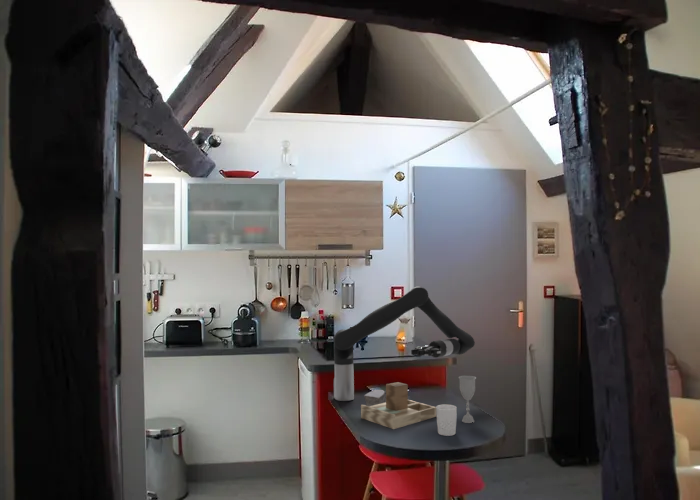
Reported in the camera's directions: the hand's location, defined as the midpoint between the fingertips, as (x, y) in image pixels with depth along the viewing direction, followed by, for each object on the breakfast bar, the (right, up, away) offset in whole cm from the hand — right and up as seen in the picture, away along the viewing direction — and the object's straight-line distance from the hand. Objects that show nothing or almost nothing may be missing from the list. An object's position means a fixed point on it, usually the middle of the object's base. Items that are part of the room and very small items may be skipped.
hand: (414, 352), depth 233 cm
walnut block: (-9, -22, -8) cm, 25 cm away
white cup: (+9, -26, -28) cm, 39 cm away
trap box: (-8, -26, -7) cm, 28 cm away
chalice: (+20, -26, -14) cm, 36 cm away
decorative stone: (-17, -27, +8) cm, 33 cm away
